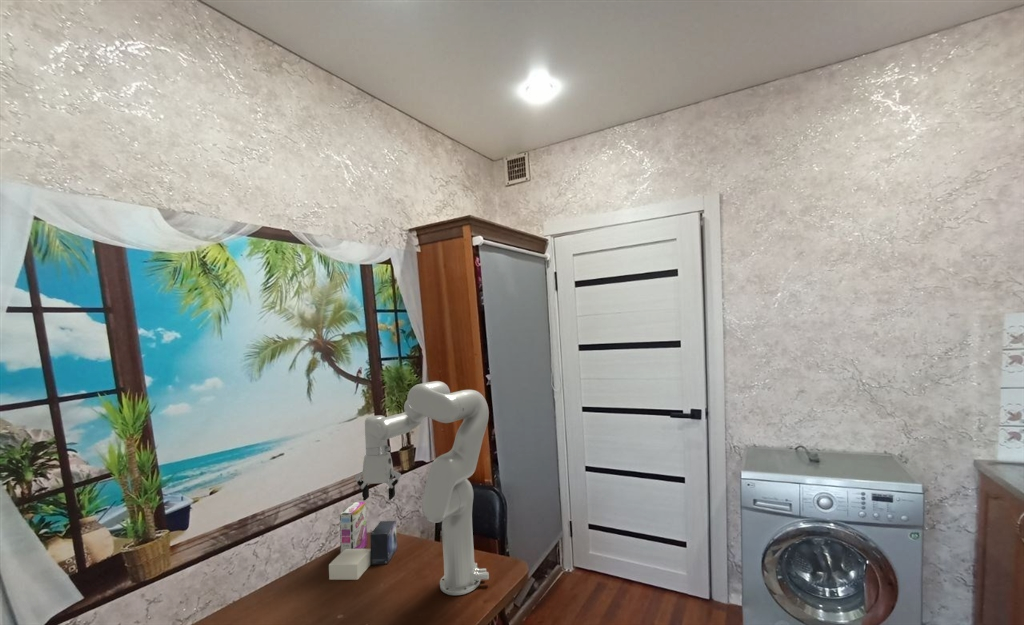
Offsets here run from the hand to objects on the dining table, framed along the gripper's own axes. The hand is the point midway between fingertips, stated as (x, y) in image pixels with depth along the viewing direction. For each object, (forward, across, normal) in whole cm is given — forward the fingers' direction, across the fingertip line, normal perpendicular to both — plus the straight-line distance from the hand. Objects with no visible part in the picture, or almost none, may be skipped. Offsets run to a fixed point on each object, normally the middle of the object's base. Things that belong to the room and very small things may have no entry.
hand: (378, 498), depth 143 cm
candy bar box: (+21, +12, -4) cm, 25 cm away
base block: (+21, +7, +8) cm, 23 cm away
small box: (+21, -1, -1) cm, 21 cm away
